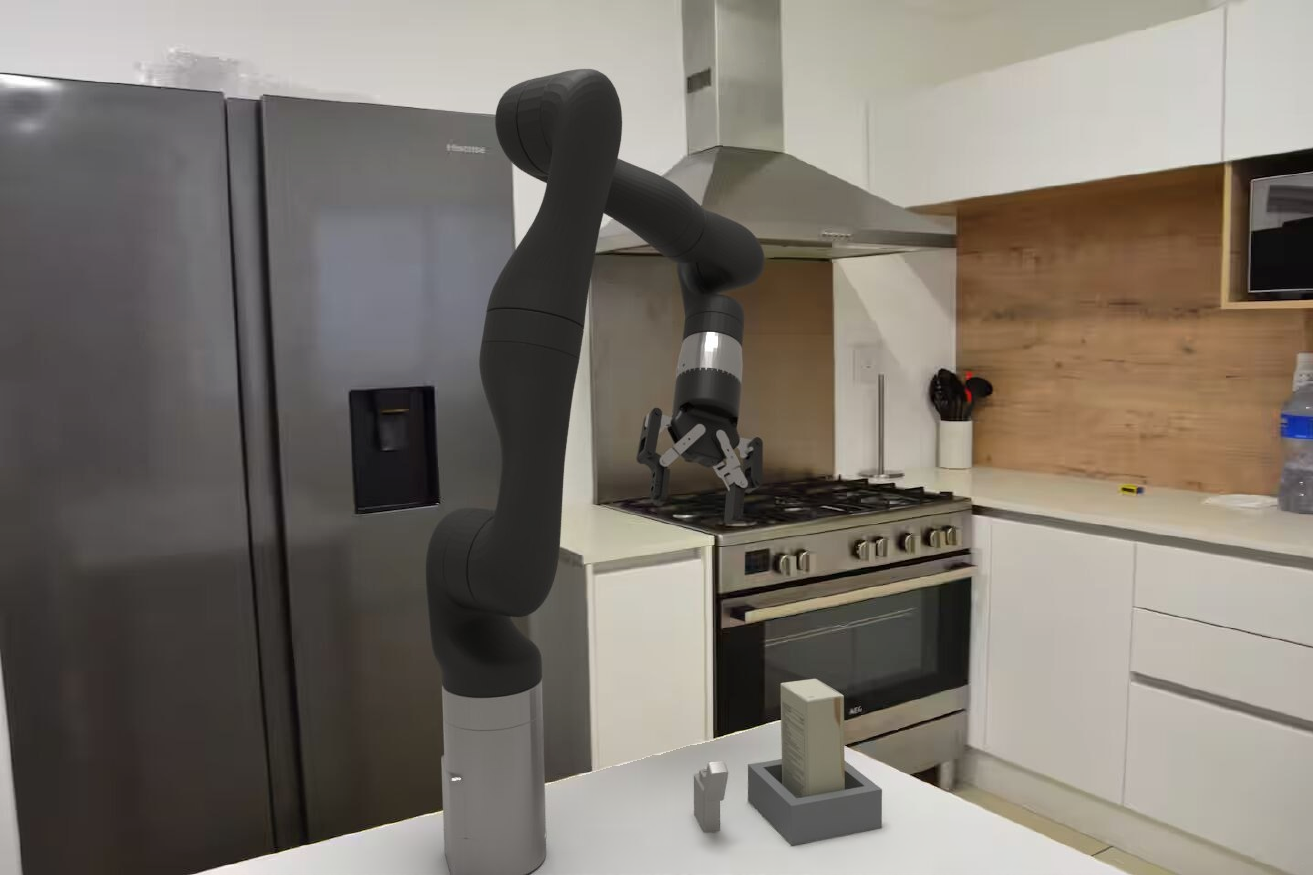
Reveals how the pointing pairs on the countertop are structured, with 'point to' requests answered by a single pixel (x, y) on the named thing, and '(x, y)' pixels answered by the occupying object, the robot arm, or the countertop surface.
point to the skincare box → (812, 738)
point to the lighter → (710, 795)
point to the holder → (814, 805)
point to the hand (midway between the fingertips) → (696, 513)
